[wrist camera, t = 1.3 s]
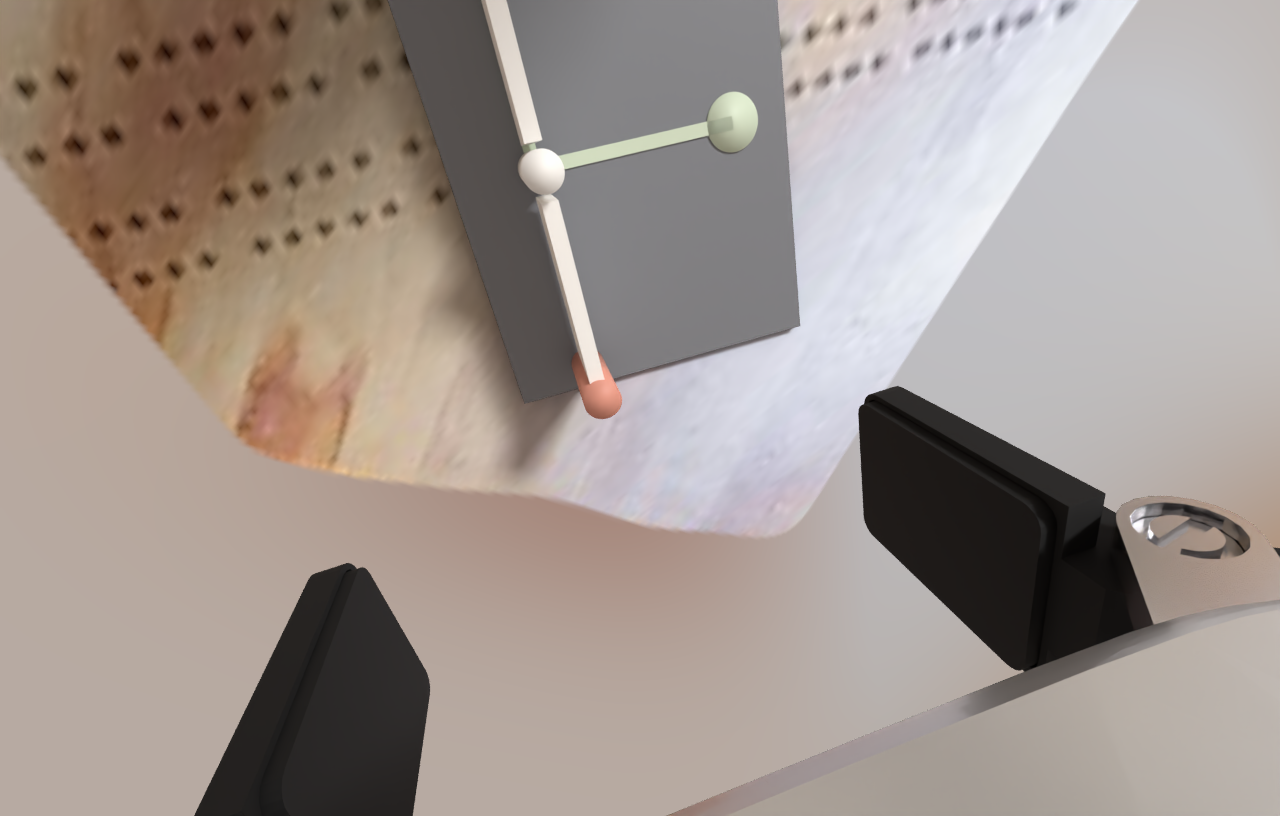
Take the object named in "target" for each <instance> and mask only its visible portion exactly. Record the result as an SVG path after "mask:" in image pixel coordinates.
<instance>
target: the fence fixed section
mask: <svg viewBox="0 0 1280 816" xmlns="http://www.w3.org/2000/svg"><path fill="white" fill-rule="evenodd" d="M481 2H482V5H483V9H484V13H485V16H486V20H487V23H488V27H489V31H490V34H491V38H492V42H493V45H494V49H495V53H496V56H497V60H498V64H499V67H500V71H501V74H502V78H503V82H504V85H505V89H506V93H507V96H508V100H509V104H510V107H511V111H512V114H513V118H514V122H515V125H516V129H517V133H518V136H519V140H520V144H521V146H523V145H528V144H532V143H536V142H539V141H541V140H542V137H541V133H540V129H539V125H538V121H537V117H536V113H535V109H534V105H533V102H532V98H531V94H530V90H529V86H528V82H527V78H526V74H525V71H524V67H523V63H522V59H521V55H520V51H519V47H518V43H517V39H516V36H515V32H514V28H513V24H512V20H511V16H510V12H509V8H508V4H507V1H506V0H481ZM518 173H519V176H520V177H521V179H522V180H523V182H524V183H525V184H526V185H527V187H528V188H529V189H530V190H532V191H533V192H535V193H537V194H540V195H549V194H552V193H554V192H556V191H557V190H558V189H559V188H560V187H561V185H562V183H563V181H564V177H565V170H564V165H563V163H562V161H561V159H560V158H559V156H558V155H557V154H555V153H554V152H553V151H551V150H548V149H543V148H540V149H535V150H531V151H528V152H526V153H524V154H523V155H522V156H521V158H520V159H519V162H518Z"/></svg>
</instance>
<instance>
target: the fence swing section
mask: <svg viewBox="0 0 1280 816" xmlns="http://www.w3.org/2000/svg"><path fill="white" fill-rule="evenodd" d="M536 201H537V205H538V208H539V212H540V215H541V219H542V223H543V226H544V230H545V234H546V237H547V241H548V245H549V248H550V252H551V255H552V259H553V263H554V266H555V270H556V274H557V277H558V281H559V285H560V288H561V292H562V296H563V299H564V303H565V306H566V310H567V314H568V317H569V321H570V325H571V328H572V332H573V336H574V339H575V343H576V347H577V350H578V352H576V353H575V355H574V356H573V358H572V363H571V364H572V369H573V372H574V375H575V378H576V381H577V385H578V388H579V391H580V394H581V397H582V400H583V403H584V406H585V409H586V411H587V412H588V413H589V414H590V415H591V416H592V417H594V418H598V419H606V418H609V417H611V416H613V415H615V414H616V413H617V412H618V410H619V409H620V407H621V404H622V397H621V394H620V392H619V390H618V388H617V386H616V384H615V382H614V380H613V378H612V376H611V373H610V371H609V369H608V367H607V365H606V363H605V361H604V359H603V357H602V355H601V354H600V353H599V352H598V351H597V348H596V344H595V340H594V337H593V333H592V329H591V325H590V321H589V317H588V313H587V309H586V305H585V301H584V298H583V294H582V290H581V286H580V282H579V278H578V274H577V270H576V266H575V263H574V259H573V255H572V251H571V247H570V243H569V239H568V235H567V231H566V227H565V224H564V220H563V216H562V212H561V208H560V204H559V200H558V199H556V198H555V197H554V196H553V195H551V194H549V195H542V196H538V197H536Z"/></svg>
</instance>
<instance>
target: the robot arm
mask: <svg viewBox="0 0 1280 816" xmlns="http://www.w3.org/2000/svg"><path fill="white" fill-rule="evenodd" d="M858 415H859V434H860V453H861V472H862V491H863V508H864V520H865V523H866V525H867V528H868V529H869V531H870V533H871V534H872V535H873V536H874V537H875V538H876V539H877V540H878V541H879V542H880V543H881V544H882V545H883V546H884V547H885V548H886V549H887V550H888V551H889V552H891V553H892V554H893V555H894V556H895V557H896V558H897V559H898V560H899V561H900V562H901V563H902V564H903V565H904V566H905V567H906V568H907V569H908V570H909V571H910V572H911V573H912V574H914V576H916V577H917V578H918V579H919V580H920V581H921V582H922V583H923V584H924V585H925V586H926V587H927V588H928V589H929V590H930V591H931V592H932V593H933V594H934V595H935V596H936V597H938V599H939V600H941V601H942V602H943V603H944V604H945V605H946V606H947V607H948V608H949V609H950V610H951V611H952V612H953V613H954V614H955V615H956V616H957V617H958V618H959V619H960V620H961V621H962V622H963V623H964V624H965V625H967V626H968V627H969V628H970V629H971V630H972V631H973V632H974V633H975V634H976V635H977V636H978V637H979V638H980V639H981V640H982V641H983V642H984V643H985V644H986V645H987V646H988V647H989V648H990V649H991V650H992V651H994V652H995V653H996V654H997V655H998V656H999V657H1000V658H1001V659H1002V660H1003V661H1004V662H1005V663H1006V664H1007V665H1009V666H1010V667H1011V668H1013V669H1015V670H1023V671H1025V672H1023V673H1021V674H1018V675H1016V676H1013V677H1010V678H1008V679H1005V680H1003V681H1000V682H998V683H995V684H993V685H990V686H988V687H985V688H983V689H980V690H978V691H975V692H973V693H970V694H968V695H965V696H963V697H960V698H958V699H955V700H953V701H950V702H947V703H945V704H943V705H940V706H937V707H935V708H932V709H930V710H927V711H925V712H922V713H920V714H918V715H915V716H912V717H910V718H907V719H905V720H902V721H900V722H897V723H895V724H892V725H890V726H887V727H885V728H882V729H880V730H877V731H875V732H872V733H870V734H867V735H865V736H862V737H860V738H857V739H855V740H852V741H850V742H847V743H845V744H842V745H840V746H837V747H835V748H832V749H830V750H827V751H825V752H822V753H820V754H818V755H815V756H812V757H810V758H808V759H805V760H803V761H800V762H798V763H795V764H793V765H790V766H788V767H785V768H783V769H781V770H778V771H775V772H773V773H771V774H768V775H765V776H763V777H761V778H758V779H756V780H753V781H751V782H748V783H746V784H743V785H741V786H738V787H736V788H733V789H731V790H728V791H726V792H724V793H721V794H719V795H716V796H714V797H711V798H709V799H706V800H704V801H701V802H699V803H696V804H694V805H692V806H689V807H687V808H684V809H682V810H679V811H677V812H675V813H672V814H670V815H667V816H1280V548H1273V547H1272V545H1271V544H1270V542H1269V541H1268V539H1267V538H1266V536H1265V535H1263V533H1262V532H1261V531H1260V530H1259V529H1258V528H1257V527H1256V526H1255V525H1254V524H1252V523H1250V522H1249V521H1247V520H1246V519H1244V518H1242V517H1240V516H1239V515H1237V514H1235V513H1233V512H1231V511H1228V510H1226V509H1223V508H1221V507H1218V506H1216V505H1212V504H1209V503H1204V502H1201V501H1197V500H1193V499H1187V498H1180V497H1173V496H1148V497H1143V498H1137V499H1133V500H1131V501H1129V502H1127V503H1124V504H1122V505H1121V507H1120V508H1119V510H1118V511H1117V512H1116V513H1115V512H1113V511H1111V510H1110V509H1108V508H1106V507H1104V506H1103V505H1104V499H1105V493H1103V492H1102V491H1100V490H1098V489H1096V488H1094V487H1092V486H1090V485H1088V484H1086V483H1084V482H1082V481H1080V480H1079V479H1077V478H1075V477H1072V476H1071V475H1069V474H1067V473H1065V472H1063V471H1061V470H1059V469H1057V468H1055V467H1054V466H1052V465H1050V464H1048V463H1046V462H1044V461H1042V460H1040V459H1038V458H1036V457H1034V456H1033V455H1031V454H1028V453H1027V452H1025V451H1023V450H1021V449H1019V448H1017V447H1015V446H1013V445H1011V444H1009V443H1008V442H1006V441H1004V440H1002V439H1000V438H998V437H996V436H994V435H992V434H990V433H988V432H986V431H984V430H983V429H980V428H979V427H976V426H975V425H973V424H971V423H969V422H967V421H965V420H963V419H961V418H960V417H958V416H956V415H954V414H952V413H950V412H948V411H946V410H944V409H942V408H940V407H938V406H937V405H935V404H933V403H931V402H929V401H927V400H925V399H923V398H921V397H919V396H917V395H915V394H913V393H912V392H910V391H908V390H906V389H904V388H902V387H899V386H896V387H892V388H889V389H886V390H882V391H879V392H876V393H873V394H870V395H868V396H867V397H866V399H865V402H864V405H861V406H860V408H859V413H858ZM429 696H430V684H429V678H428V675H427V672H426V670H425V668H424V667H423V665H422V663H421V661H420V660H419V658H418V656H417V655H416V653H415V651H414V649H413V647H412V646H411V644H410V642H409V641H408V639H407V637H406V635H405V634H404V632H403V630H402V629H401V627H400V625H399V623H398V622H397V620H396V618H395V616H394V615H393V613H392V611H391V609H390V608H389V606H388V604H387V602H386V601H385V599H384V597H383V595H382V594H381V592H380V590H379V589H378V587H377V585H376V583H375V582H374V580H373V578H372V576H371V575H370V573H369V572H368V570H367V569H365V568H358V569H356V567H355V566H354V565H352V564H350V563H346V564H343V565H340V566H337V567H334V568H331V569H328V570H324V571H321V572H318V573H315V574H313V575H312V576H311V577H310V578H309V580H308V582H307V584H306V586H305V588H304V590H303V592H302V594H301V596H300V598H299V600H298V603H297V605H296V607H295V609H294V611H293V613H292V615H291V617H290V619H289V621H288V623H287V625H286V627H285V629H284V631H283V633H282V636H281V638H280V640H279V642H278V644H277V646H276V648H275V650H274V652H273V654H272V656H271V658H270V660H269V663H268V664H267V666H266V669H265V671H264V673H263V675H262V677H261V679H260V681H259V683H258V685H257V687H256V690H255V691H254V693H253V696H252V697H251V700H250V702H249V704H248V706H247V708H246V710H245V712H244V714H243V716H242V718H241V720H240V722H239V725H238V727H237V729H236V730H235V733H234V735H233V737H232V739H231V741H230V743H229V745H228V747H227V749H226V751H225V753H224V755H223V757H222V760H221V761H220V764H219V766H218V768H217V770H216V772H215V774H214V776H213V778H212V780H211V783H210V784H209V786H208V788H207V790H206V792H205V795H204V797H203V799H202V801H201V803H200V805H199V807H198V809H197V811H196V813H195V815H194V816H413V809H414V802H415V795H416V788H417V781H418V773H419V767H420V759H421V752H422V746H423V738H424V731H425V724H426V717H427V709H428V703H429Z"/></svg>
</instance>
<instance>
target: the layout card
mask: <svg viewBox="0 0 1280 816" xmlns="http://www.w3.org/2000/svg"><path fill="white" fill-rule="evenodd" d="M506 1H507V4H508V8H509V12H510V16H511V20H512V24H513V28H514V32H515V36H516V39H517V43H518V47H519V51H520V55H521V59H522V63H523V67H524V71H525V74H526V78H527V82H528V86H529V90H530V94H531V98H532V102H533V105H534V109H535V113H536V117H537V121H538V125H539V129H540V133H541V137H542V140H541V141H539V142H536V143H532V144H528V145H523V146H521V144H520V140H519V136H518V133H517V129H516V125H515V122H514V118H513V114H512V111H511V107H510V104H509V100H508V96H507V93H506V89H505V85H504V82H503V78H502V74H501V71H500V67H499V64H498V60H497V56H496V53H495V49H494V45H493V42H492V38H491V34H490V31H489V27H488V23H487V20H486V16H485V13H484V9H483V5H482V2H481V0H388V3H389V6H390V9H391V12H392V15H393V18H394V20H395V23H396V26H397V29H398V32H399V35H400V38H401V41H402V44H403V47H404V50H405V53H406V56H407V59H408V62H409V65H410V68H411V71H412V73H413V76H414V79H415V82H416V85H417V88H418V91H419V94H420V97H421V100H422V103H423V106H424V109H425V112H426V115H427V118H428V121H429V124H430V126H431V129H432V132H433V135H434V138H435V141H436V144H437V147H438V150H439V153H440V156H441V159H442V162H443V165H444V168H445V171H446V174H447V177H448V179H449V182H450V185H451V188H452V191H453V194H454V197H455V200H456V203H457V206H458V209H459V212H460V215H461V218H462V221H463V224H464V227H465V230H466V233H467V235H468V238H469V241H470V244H471V247H472V250H473V253H474V256H475V259H476V262H477V265H478V268H479V271H480V274H481V277H482V280H483V283H484V286H485V288H486V291H487V294H488V297H489V300H490V303H491V306H492V309H493V312H494V315H495V318H496V321H497V324H498V327H499V330H500V333H501V336H502V339H503V341H504V344H505V347H506V350H507V353H508V356H509V359H510V362H511V365H512V368H513V371H514V374H515V377H516V380H517V383H518V386H519V389H520V392H521V395H522V397H523V400H524V403H525V404H526V403H529V402H533V401H536V400H540V399H543V398H547V397H550V396H554V395H557V394H561V393H564V392H568V391H572V390H575V389H579V388H578V385H577V381H576V378H575V375H574V372H573V369H572V364H571V363H572V358H573V356H574V355H575V353H576V352H578V350H577V347H576V343H575V339H574V336H573V332H572V328H571V325H570V321H569V317H568V314H567V310H566V306H565V303H564V299H563V296H562V292H561V288H560V285H559V281H558V277H557V274H556V270H555V266H554V263H553V259H552V255H551V252H550V248H549V245H548V241H547V237H546V234H545V230H544V226H543V223H542V219H541V215H540V212H539V208H538V205H537V201H536V197H538V196H542V195H540V194H537V193H535V192H533V191H532V190H530V189H529V188H528V187H527V185H526V184H525V183H524V182H523V180H522V179H521V177H520V176H519V173H518V162H519V159H520V158H521V156H522V155H523V154H524V153H526V152H528V151H531V150H535V149H540V148H543V149H548V150H551V151H553V152H554V153H555V154H557V155H558V156H559V158H560V159H561V161H562V163H563V165H564V170H565V177H564V181H563V183H562V185H561V187H560V188H559V189H558V190H557V191H556V192H554V193H552V194H551V195H553V196H554V197H555V198H556V199H558V200H559V204H560V208H561V212H562V216H563V220H564V224H565V227H566V231H567V235H568V239H569V243H570V247H571V251H572V255H573V259H574V263H575V266H576V270H577V274H578V278H579V282H580V286H581V290H582V294H583V298H584V301H585V305H586V309H587V313H588V317H589V321H590V325H591V329H592V333H593V337H594V340H595V344H596V348H597V351H598V352H599V353H600V354H601V355H602V357H603V359H604V361H605V363H606V365H607V367H608V369H609V371H610V373H611V376H612V378H613V379H614V378H618V377H621V376H625V375H628V374H632V373H635V372H639V371H642V370H646V369H649V368H653V367H656V366H660V365H664V364H667V363H671V362H674V361H678V360H681V359H685V358H688V357H692V356H695V355H699V354H702V353H706V352H710V351H713V350H717V349H720V348H724V347H727V346H731V345H734V344H738V343H741V342H745V341H748V340H752V339H756V338H759V337H763V336H766V335H770V334H773V333H777V332H780V331H784V330H787V329H791V328H794V327H798V326H800V317H799V303H798V289H797V274H796V260H795V246H794V232H793V217H792V203H791V189H790V174H789V160H788V146H787V131H786V117H785V103H784V88H783V74H782V60H781V45H780V31H779V17H778V2H777V0H506Z"/></svg>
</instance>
